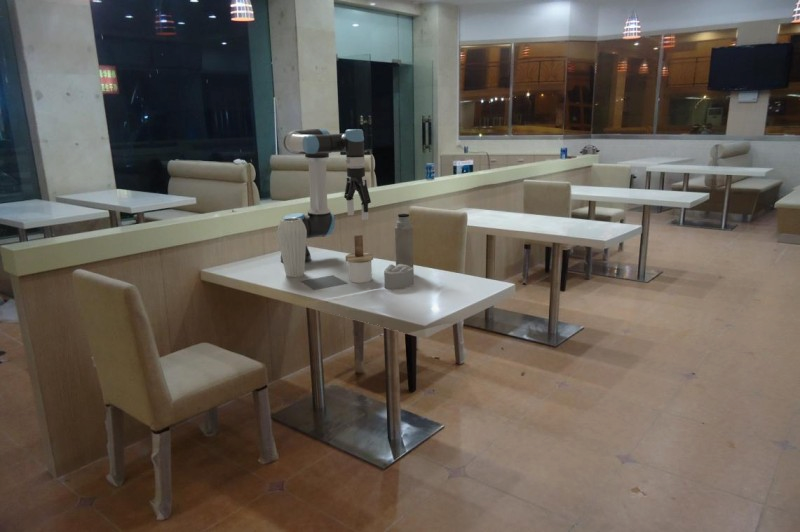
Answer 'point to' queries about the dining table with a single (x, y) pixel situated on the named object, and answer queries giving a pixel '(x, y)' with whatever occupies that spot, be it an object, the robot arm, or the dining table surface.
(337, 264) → the dining table surface
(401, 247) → the thermos bottle
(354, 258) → the lid
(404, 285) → the lumpy-topped squat cylinder
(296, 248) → the vase
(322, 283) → the mat
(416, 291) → the dining table surface
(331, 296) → the dining table surface
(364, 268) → the cup
